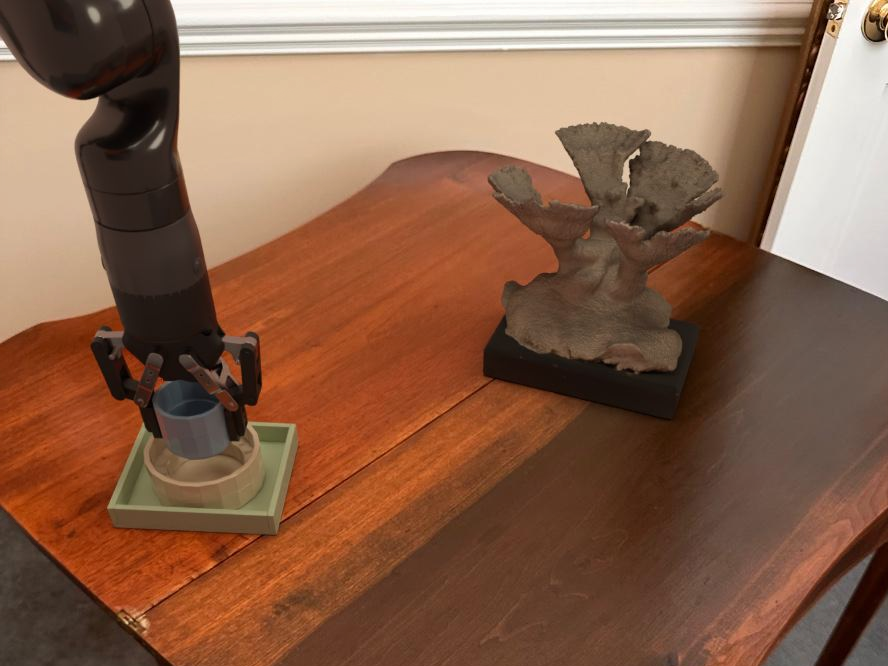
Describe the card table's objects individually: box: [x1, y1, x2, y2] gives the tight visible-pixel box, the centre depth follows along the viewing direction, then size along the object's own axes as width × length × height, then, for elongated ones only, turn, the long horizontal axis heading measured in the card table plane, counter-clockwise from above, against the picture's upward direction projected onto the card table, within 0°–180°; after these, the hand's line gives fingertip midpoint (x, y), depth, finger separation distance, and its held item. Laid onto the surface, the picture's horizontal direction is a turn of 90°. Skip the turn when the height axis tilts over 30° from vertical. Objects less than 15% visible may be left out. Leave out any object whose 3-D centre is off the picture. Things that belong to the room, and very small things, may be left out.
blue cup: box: [152, 380, 232, 460], centre depth 79 cm, size 6×6×5 cm
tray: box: [106, 421, 299, 536], centre depth 84 cm, size 15×13×2 cm
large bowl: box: [144, 423, 265, 510], centre depth 83 cm, size 11×11×4 cm
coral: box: [482, 121, 725, 421], centre depth 93 cm, size 25×20×22 cm
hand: (198, 434), depth 80 cm, fingers closed on blue cup, 6 cm apart
